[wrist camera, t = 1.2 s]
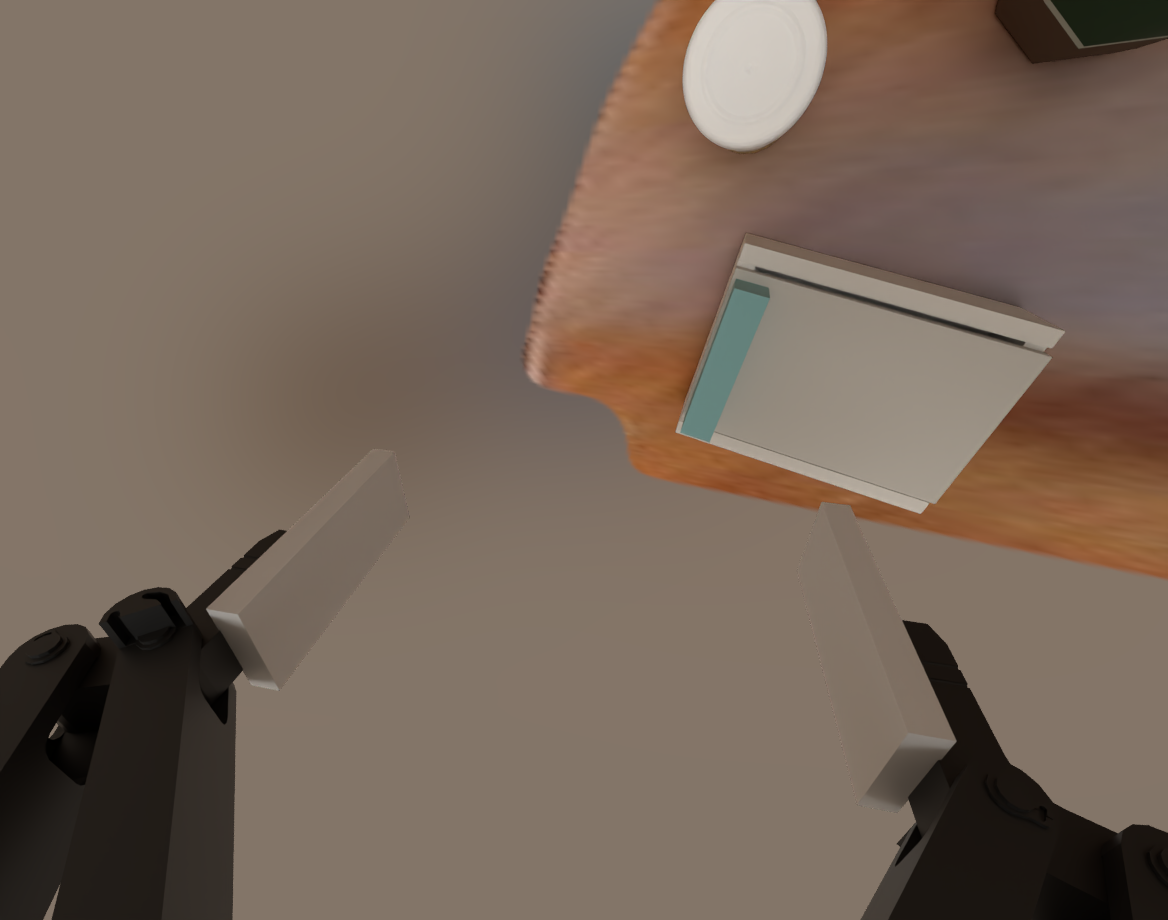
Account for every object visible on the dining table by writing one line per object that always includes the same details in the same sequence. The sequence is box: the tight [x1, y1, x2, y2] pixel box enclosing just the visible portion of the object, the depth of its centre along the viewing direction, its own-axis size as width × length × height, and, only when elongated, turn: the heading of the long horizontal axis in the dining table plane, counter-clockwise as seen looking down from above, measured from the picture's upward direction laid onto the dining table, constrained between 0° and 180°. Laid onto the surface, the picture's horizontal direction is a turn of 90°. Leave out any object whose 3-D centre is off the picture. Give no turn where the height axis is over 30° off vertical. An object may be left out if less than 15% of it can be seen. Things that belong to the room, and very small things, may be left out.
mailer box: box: [675, 233, 1066, 514], centre depth 30 cm, size 16×12×5 cm
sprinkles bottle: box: [683, 0, 827, 154], centre depth 21 cm, size 5×5×13 cm
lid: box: [680, 265, 1052, 504], centre depth 27 cm, size 16×10×3 cm, turn 77°
